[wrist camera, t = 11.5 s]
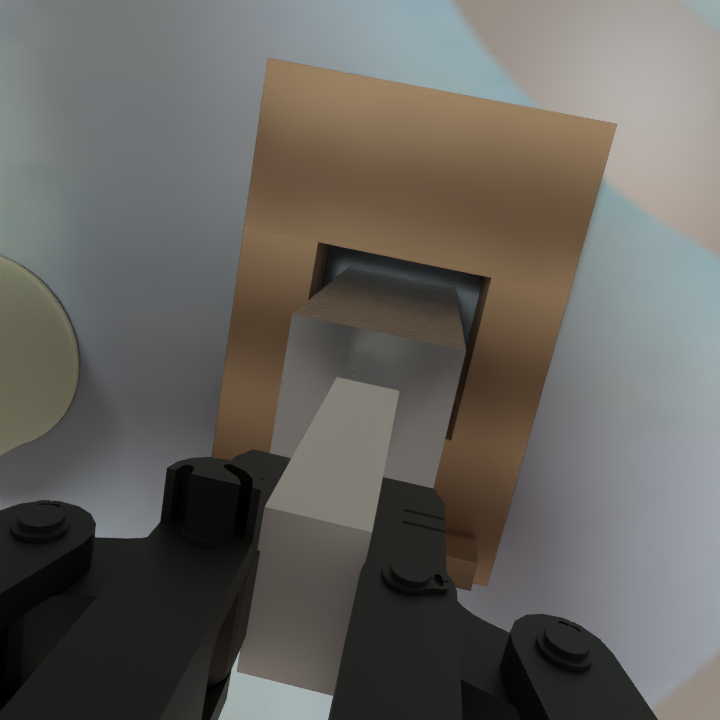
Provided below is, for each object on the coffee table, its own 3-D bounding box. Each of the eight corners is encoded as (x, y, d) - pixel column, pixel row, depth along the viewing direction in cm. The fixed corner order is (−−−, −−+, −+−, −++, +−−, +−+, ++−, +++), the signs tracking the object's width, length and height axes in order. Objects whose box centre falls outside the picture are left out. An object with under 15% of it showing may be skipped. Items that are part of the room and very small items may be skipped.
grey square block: (349, 265, 27) (292, 313, 16) (454, 287, 26) (466, 350, 16) (331, 366, 28) (266, 472, 17) (431, 388, 28) (428, 509, 17)
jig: (287, 73, 25) (251, 44, 20) (595, 132, 24) (635, 117, 20) (225, 488, 30) (185, 544, 25) (482, 547, 29) (491, 617, 24)
